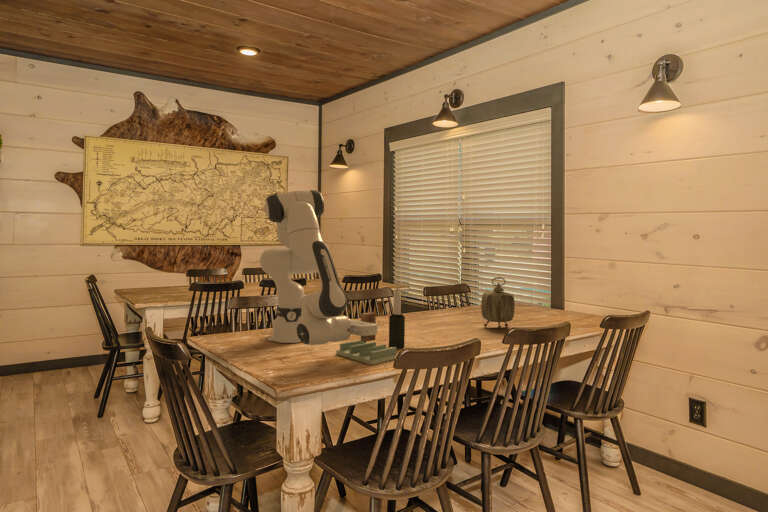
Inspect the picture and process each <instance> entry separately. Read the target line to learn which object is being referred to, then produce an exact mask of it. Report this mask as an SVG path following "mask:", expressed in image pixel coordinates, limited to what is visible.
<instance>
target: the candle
mask: <svg viewBox="0 0 768 512" xmlns="http://www.w3.org/2000/svg"><path fill="white" fill-rule="evenodd" d="M401 309H402V293H401V292H400V289H399V285H398V284H397V285H396V288H395V291H394V292H393V313H391V314H390V315H388V316H389V317H388V348H389V347H397V348H400V349H402V348H401V347H404V348H405V334H406V332H405V331H406V330H405V328H406V326H405V325H406V324H405V322H406V321H405V320H406V319H405V318H406V317H405V315H404V314H403V313H401V311H402V310H401Z"/></svg>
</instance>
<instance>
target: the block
mask: <svg viewBox="0 0 768 512" xmlns="http://www.w3.org/2000/svg"><path fill="white" fill-rule="evenodd" d="M376 315H377V313H376V312H364V313H360V321H364V322H373V323H375V324H377V323H376V320H377V319H376V317H377V316H376ZM360 340H361V341H364V342H366V343H368V342H373V341H376V335H369V336H360Z"/></svg>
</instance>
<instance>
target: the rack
mask: <svg viewBox="0 0 768 512" xmlns="http://www.w3.org/2000/svg"><path fill="white" fill-rule="evenodd" d="M335 351H336V353H335V354H336V355H338V356H342V357H345V358H347V357H348V359H350V358H351V359H350V360H354V359H355V360H354V361H357V360H358V361H357V362H360V361H361V362H360V363H363V362H364V364H368V365H370V364H371V365H370V366H373V365H372V364H374V365H378V364H381V362H382V363H385V361H387V362H390V361H389V360H391V361H394V360H393V359H395V357H396V355H397V354H398V349H397V347H392V348H389V347H388V348H387V344H383V343H382V344H378V345H377V341H369V342H364V341H361V339H358V340H353V341H346V342H342V343H339V349H336V350H335ZM395 360H396V359H395ZM377 363H378V364H377Z"/></svg>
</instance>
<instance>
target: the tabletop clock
mask: <svg viewBox="0 0 768 512" xmlns="http://www.w3.org/2000/svg"><path fill="white" fill-rule="evenodd" d="M496 279H497V280H502V281H504V283H502V284H500V282H497V284H496V283H494V280H496ZM491 284H492V285H493V286H495V287H494V288H493V289H492V290H491V291H490V290H489V291H485V292H483V293H482V297H481V304H480V307H481V311H480V313H481V315H482V318H483V319H484V320H487V321H486V323H484V324H483V327H484V326H487V327H488V324H489V323H490V322H491V323H498V325H497V329H498V328H501V329H502V326H501V323H504V327H505V326H507V327H508V326H509V324H508V322H511V321H513V319H514V317H515V309H516V306H515V305H516V304H515V297H514V295H513V294H511V293H510V292H505V291H504V288H503V287H502V286H504V285H505V284H506V280H505V278H504V277H501V276H499V277H494V278H493V279H492V281H491Z"/></svg>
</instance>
